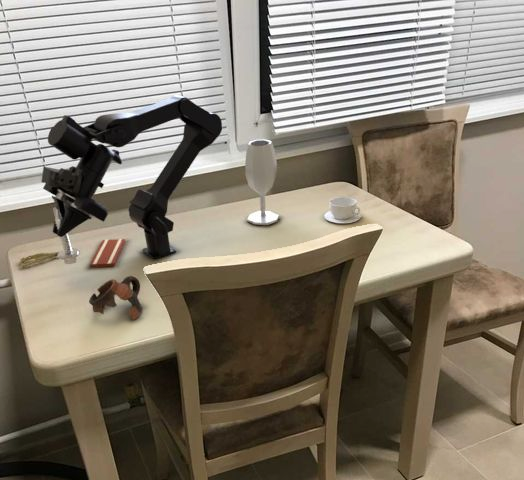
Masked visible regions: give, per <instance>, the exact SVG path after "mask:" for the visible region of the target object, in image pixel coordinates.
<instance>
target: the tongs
mask: <svg viewBox="0 0 524 480" xmlns="http://www.w3.org/2000/svg"><path fill="white" fill-rule="evenodd" d="M59 252H60V251H57V252H39V253H35V254H31V255H28V256H26V257H22V258H20V259H19V260H20V261H19V264H20V266H21V267H22V268H26V267H28V266H31V265H35V264H39V263H43V262H44V261H46V260H49V259H53V258H57V257H58V253H59ZM25 262H27V263H25Z"/></svg>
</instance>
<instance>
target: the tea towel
mask: <svg viewBox="0 0 524 480" xmlns="http://www.w3.org/2000/svg"><path fill="white" fill-rule="evenodd" d="M125 244H126V239H125V238H117V239H102V240H101V242H100V244H99V246H98V248H97V250H96V252H95V253H94V255H93V257H92V258H91V261H90V263H89V268H102V267H103V268H105V267H106V268H107V267H115V266H116V264H117V262H118V260H119V258H120V255H121V253H122V251H123V248H124V246H125Z"/></svg>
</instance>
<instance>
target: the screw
mask: <svg viewBox="0 0 524 480" xmlns="http://www.w3.org/2000/svg"><path fill="white" fill-rule="evenodd" d="M52 212H53V215H54V220H55V219H56V220H55V221H56V224H57V225H56V226H57V229H59V227H60V224H61V222H62V219H63V217H61V213H60V210H59V208H57V207H56V206H54V207H53V208H52ZM59 239H60V242H61V244H62V245H61V247H62V249H61V250H60V251H58V252H59V253H58V256H57V258H58V259H59V260H63V261H64V264H65V265H73V264H76V263H77V260H78V259H77V257H79V256H80V255H81V252H80V250H79V249H78V248H77V247H71V246H72V245H71V242H70V238H69V234H68V233H67V234H65V235H64V236H63V237H60V236H59Z"/></svg>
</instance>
